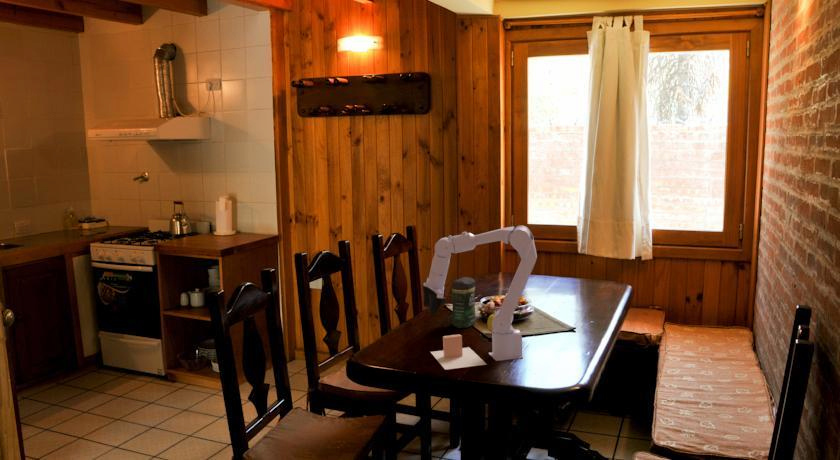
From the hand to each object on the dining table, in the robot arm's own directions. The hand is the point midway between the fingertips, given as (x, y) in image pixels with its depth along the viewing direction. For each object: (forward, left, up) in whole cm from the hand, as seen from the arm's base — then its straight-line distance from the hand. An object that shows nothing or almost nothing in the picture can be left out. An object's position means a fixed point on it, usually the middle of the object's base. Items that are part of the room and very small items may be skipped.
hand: (429, 310), depth 227 cm
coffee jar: (-21, -28, -15) cm, 38 cm away
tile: (-6, +6, -15) cm, 17 cm away
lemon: (-28, -13, -15) cm, 34 cm away
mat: (-7, +8, -15) cm, 19 cm away
